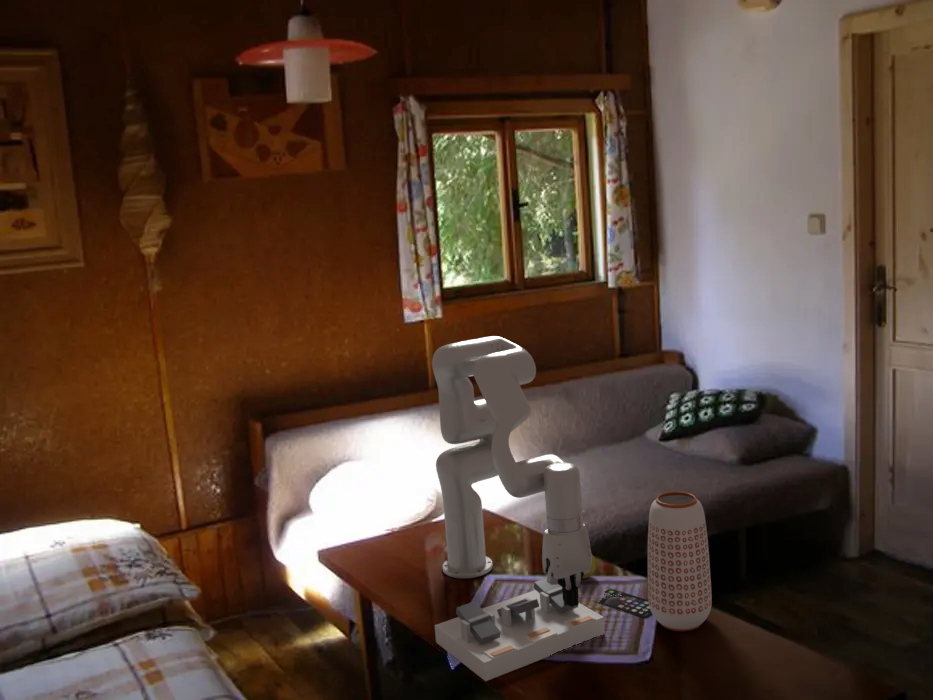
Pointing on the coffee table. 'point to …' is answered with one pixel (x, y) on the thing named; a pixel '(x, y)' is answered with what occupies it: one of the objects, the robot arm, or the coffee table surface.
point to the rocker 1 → (478, 622)
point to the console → (518, 635)
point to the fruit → (593, 566)
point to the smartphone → (627, 603)
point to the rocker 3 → (553, 595)
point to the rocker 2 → (520, 606)
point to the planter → (678, 562)
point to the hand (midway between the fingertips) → (571, 603)
